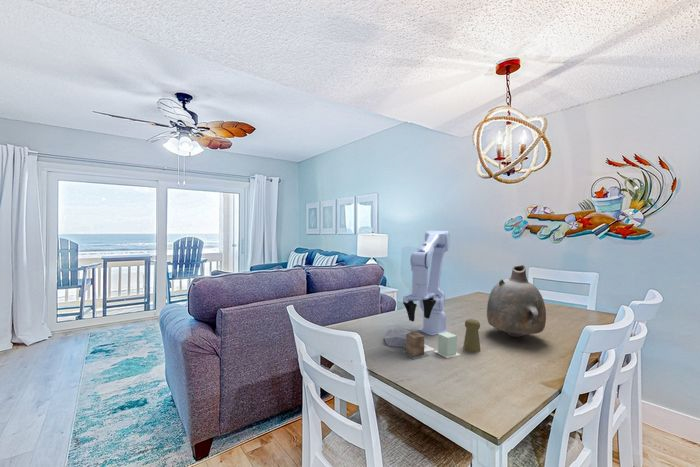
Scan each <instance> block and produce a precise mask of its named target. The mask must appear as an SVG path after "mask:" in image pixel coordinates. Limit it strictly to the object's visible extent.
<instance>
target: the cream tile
mask: <svg viewBox="0 0 700 467" xmlns="http://www.w3.org/2000/svg"><path fill="white" fill-rule="evenodd" d="M429 351H435V348H433V347H431V346H429V345H427V344H425V343H424V353H426V352H429Z"/></svg>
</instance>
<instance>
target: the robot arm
mask: <svg viewBox="0 0 700 467" xmlns="http://www.w3.org/2000/svg"><path fill="white" fill-rule="evenodd" d="M450 238H451V236H450V231H448V230H426V231H425V233H424V242H423V243H421V245H419V247H418V249H417V250H416V251H414V252H412V253H411V254H410V261H409V262H410V267H411V269H410V270H411V272H412V277H411V278H412V279H411V280H412V281H411V282H412V283H411V288H412V289H411V290H412V291H411V294H409V295H405V296H402V305H403V306H404V307H405V310H406V314H407V317H408V321H410V322H412V323H413V322H415V315H416V310H417V305H418V304H417V303H415V302H417V301H419V302H418V303H419V305H418V306H419V308H420V309H421V310H422V311H421V312H422V315H423V316H422V327H420V328H418V331H420V332H422V333H425V334H427V335H428V336H435V335H437V336H438V334H439V333H444V332H448V330H447V315H446V313H445V311H444V310H445V307H446V295H445V293H444V292H443V291H442V290H441V289H440V288H441V287H440V284H441V276H442V269H443V262H444V261H443V260H444V255H445V253H446V252H448V251H449V248H450ZM429 267H430V270H429Z"/></svg>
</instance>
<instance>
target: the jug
mask: <svg viewBox="0 0 700 467" xmlns="http://www.w3.org/2000/svg"><path fill="white" fill-rule="evenodd" d="M526 268H527V267H526V266H525V265H524V264H521V265H517V266H516V265H515V266H513V267H512V269H511V271H512V272H511V274H510V277H509V278H506V279H503V278H501V279H500V280H498V282H497V283H496V284H495V285H494V286H493V287H492V289H491V291H490V293H489V296H488V300H487V305H486V318H487V322H488V324H489V325H490V326H491V327H493V328H494V329H497V330H500V331H503V332H505V333H507V334H508V335H510V336H512V337H514V338H518V337H522V336H525V335H526V336H527V335H535V334H540V333H542V332H543V331H544V330H545V328H546V321H547V310H546V305H545V301H544V298H543V295H542V294H541V292H540V290H539V289H538V288H537V287H536V286H535V285H534V284H532V283H530V282H529V281H528V279H527V273H526V270H527V269H526Z"/></svg>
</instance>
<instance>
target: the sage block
mask: <svg viewBox="0 0 700 467" xmlns="http://www.w3.org/2000/svg"><path fill="white" fill-rule="evenodd" d="M457 341H458V335H455V334H453V333H451V332H448V331H447V332H444V333H439V334H437V350H438V352H440V353H441V354H443V355H445V356H451V355H455V354H456V353H458V352H457V349H458V348H457V346H458V345H457V343H458V342H457Z"/></svg>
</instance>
